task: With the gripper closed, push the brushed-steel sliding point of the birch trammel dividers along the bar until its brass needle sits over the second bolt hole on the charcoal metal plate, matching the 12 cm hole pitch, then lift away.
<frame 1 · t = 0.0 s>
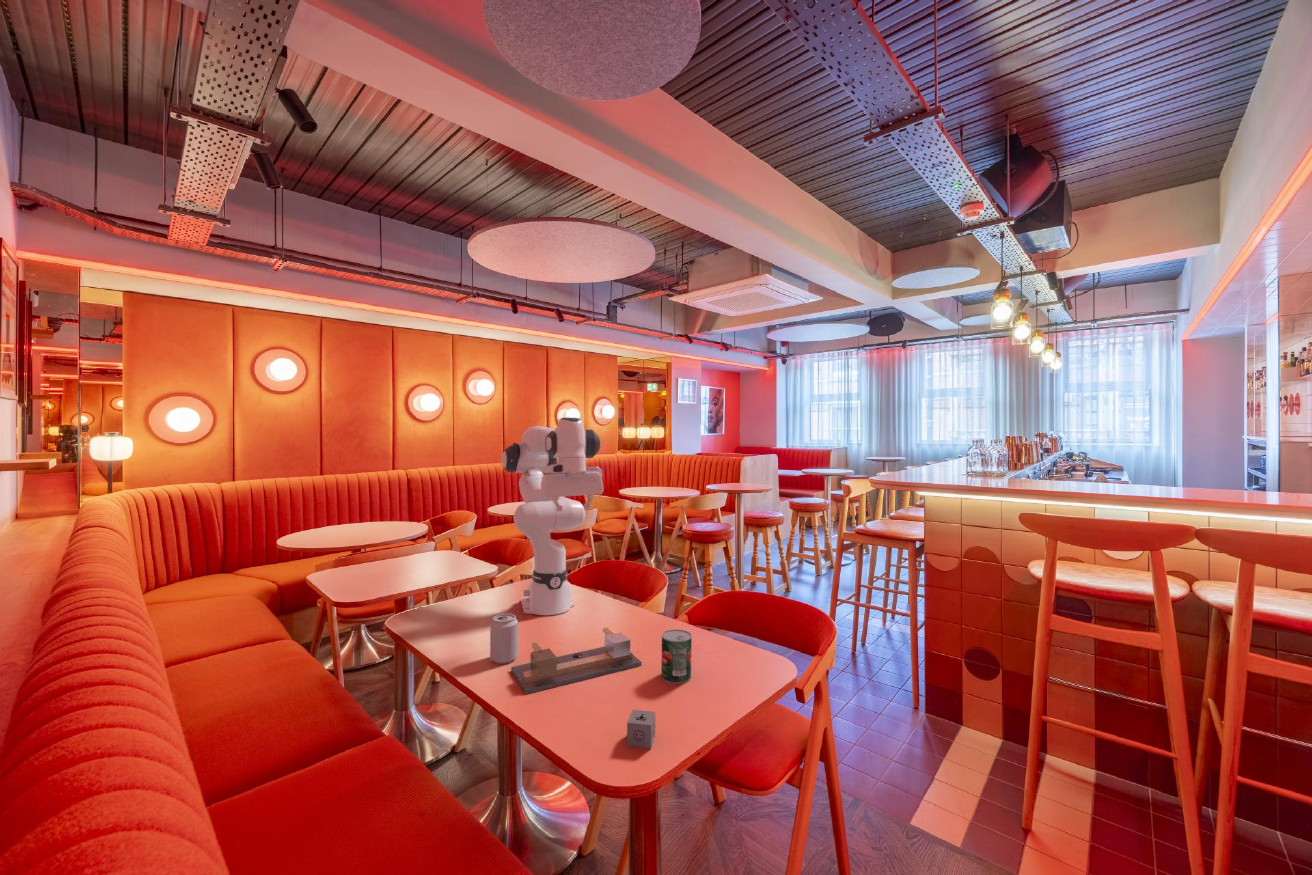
hand: (573, 510, 164), 39 cm above the table, tool pointing down, fingers open, 8 cm apart
canned tomato: (676, 677, 134), on the table
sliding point: (613, 643, 145), point 4 cm above the table, slide at 9.0 cm
can: (504, 659, 144), on the table
bolt plate: (577, 667, 138), on the table
dice cube: (641, 741, 106), on the table
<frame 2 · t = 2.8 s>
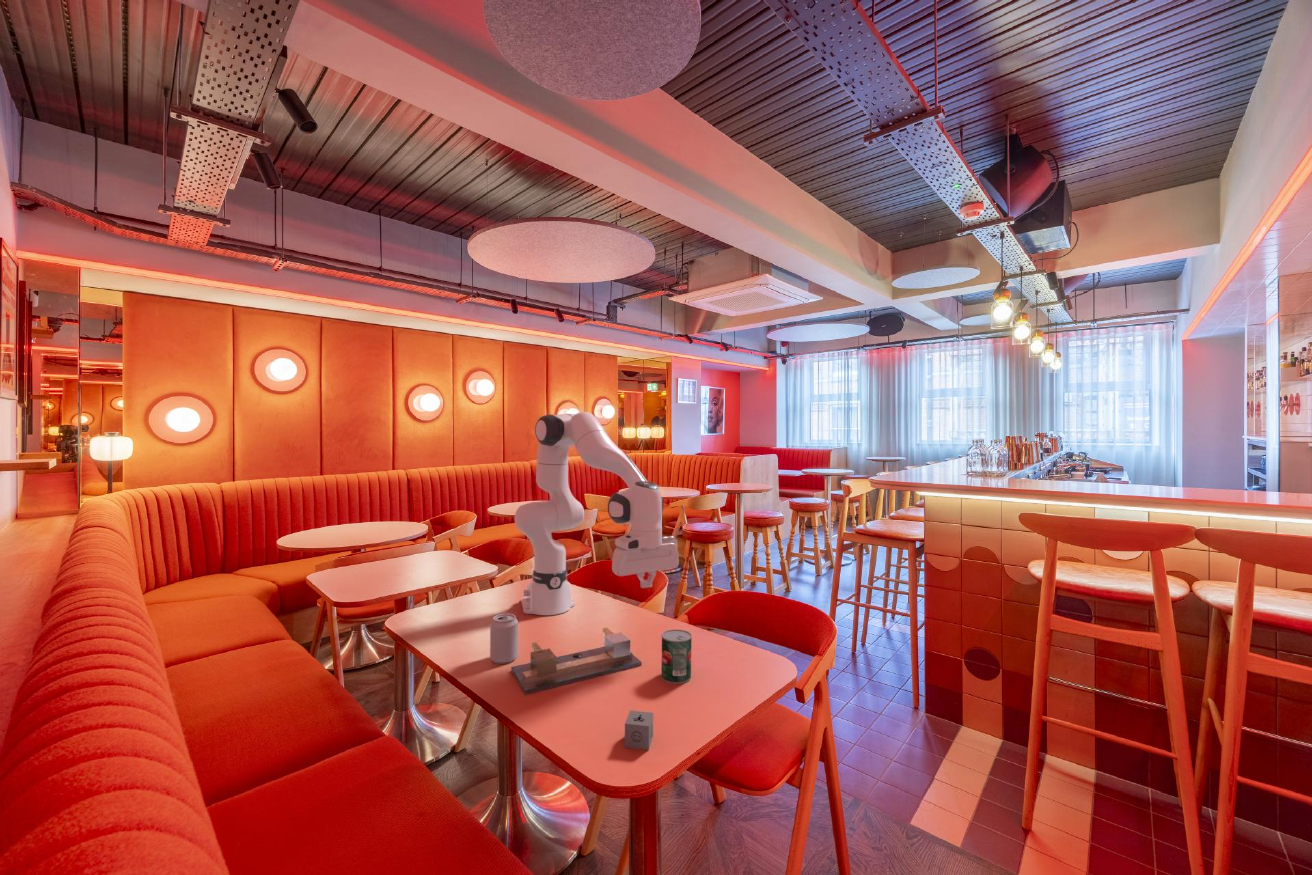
hand: (646, 586, 146), 20 cm above the table, tool pointing down, fingers closed
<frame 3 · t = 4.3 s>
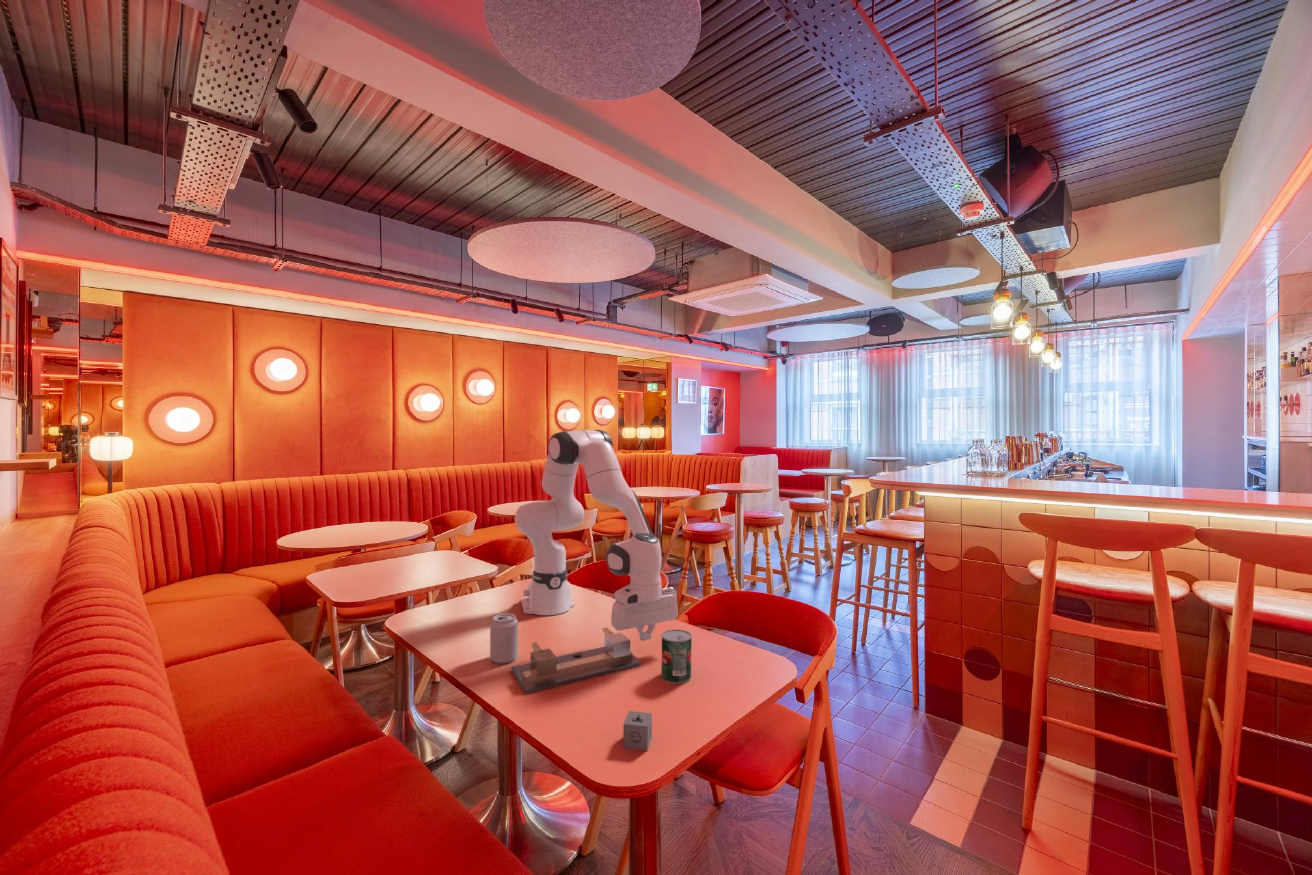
hand: (645, 639, 147), 5 cm above the table, tool pointing down, fingers closed
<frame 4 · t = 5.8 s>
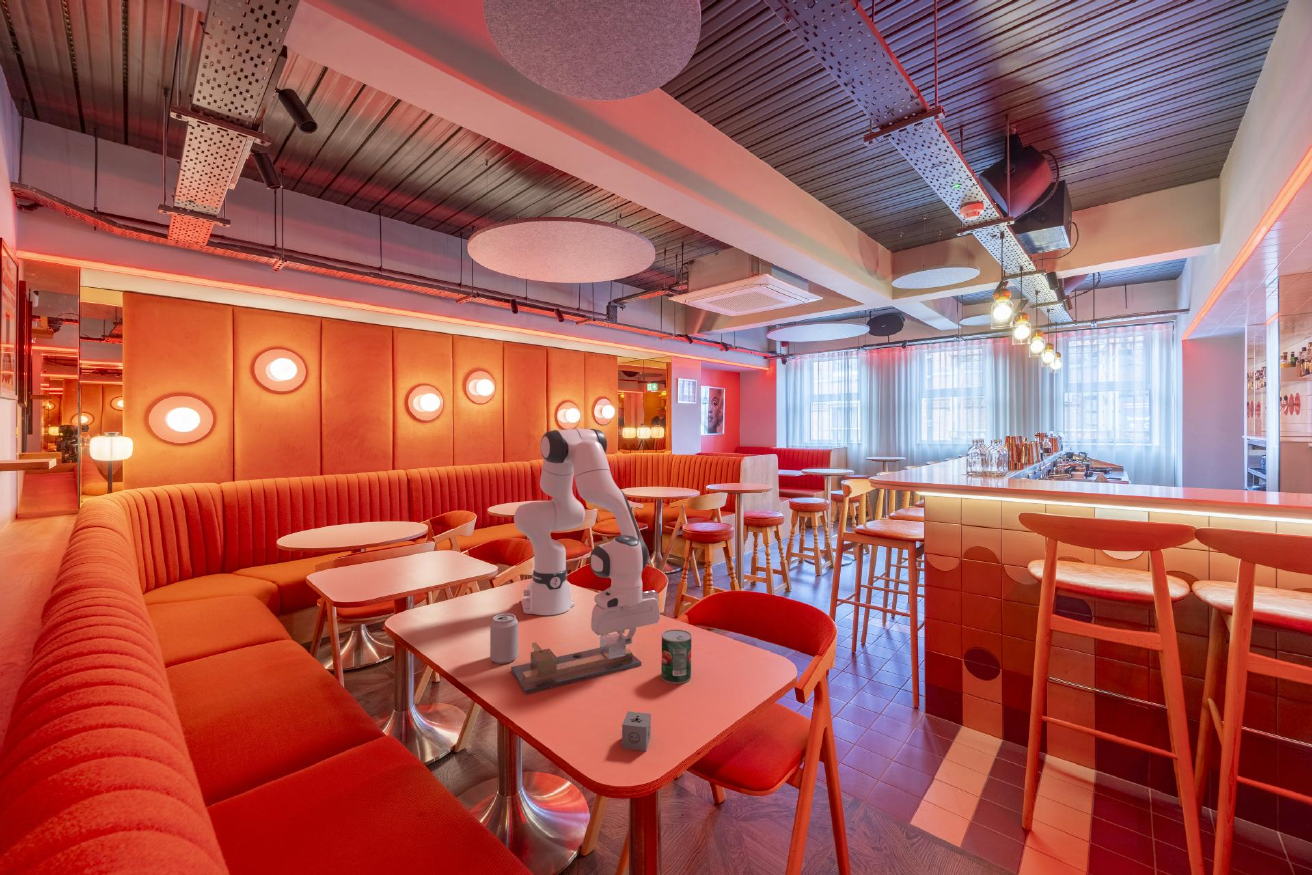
hand: (626, 643, 144), 5 cm above the table, tool pointing down, fingers closed
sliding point: (608, 644, 144), point 4 cm above the table, slide at 7.6 cm, touching gripper
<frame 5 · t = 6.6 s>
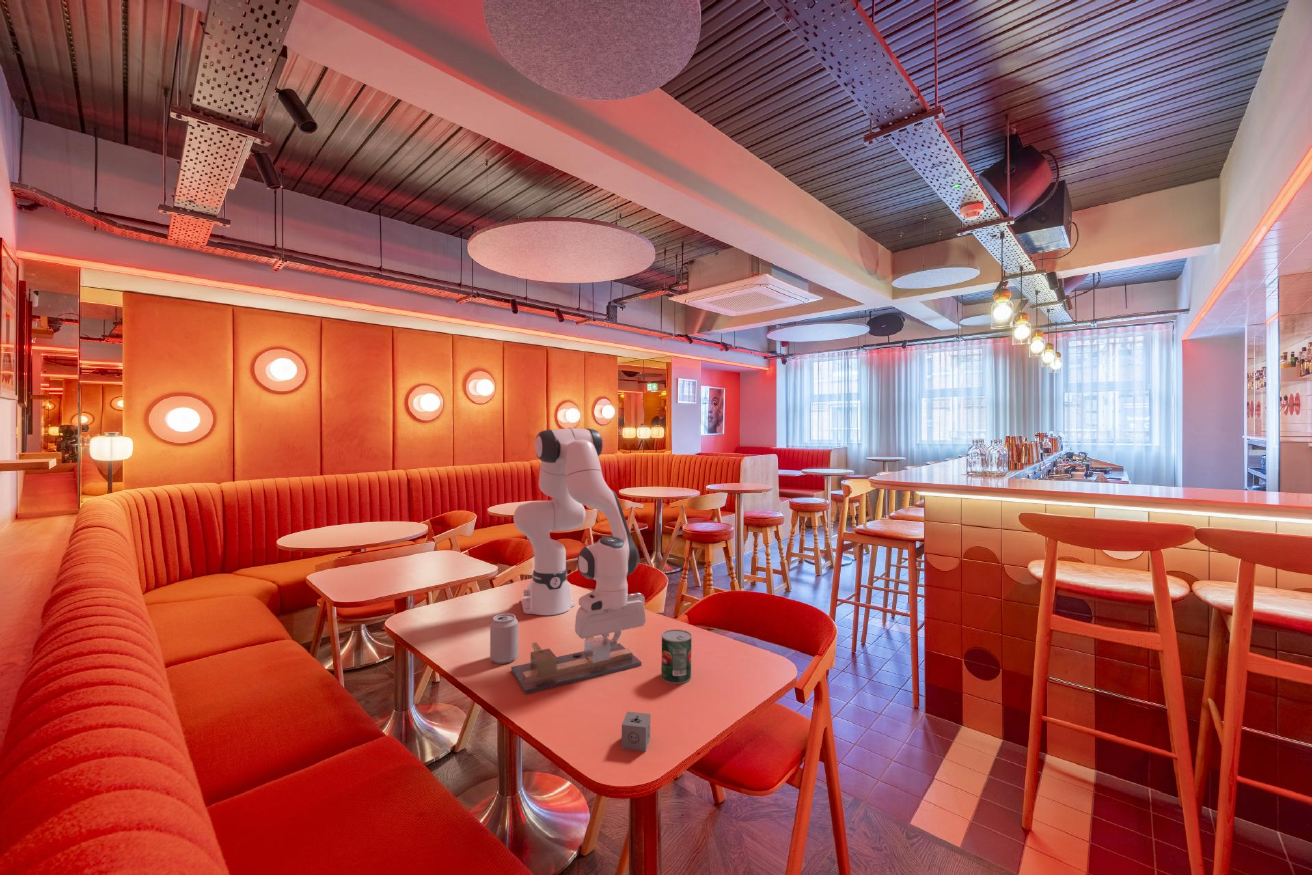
hand: (611, 647, 141), 5 cm above the table, tool pointing down, fingers closed
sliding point: (593, 648, 142), point 4 cm above the table, slide at 2.9 cm, touching gripper
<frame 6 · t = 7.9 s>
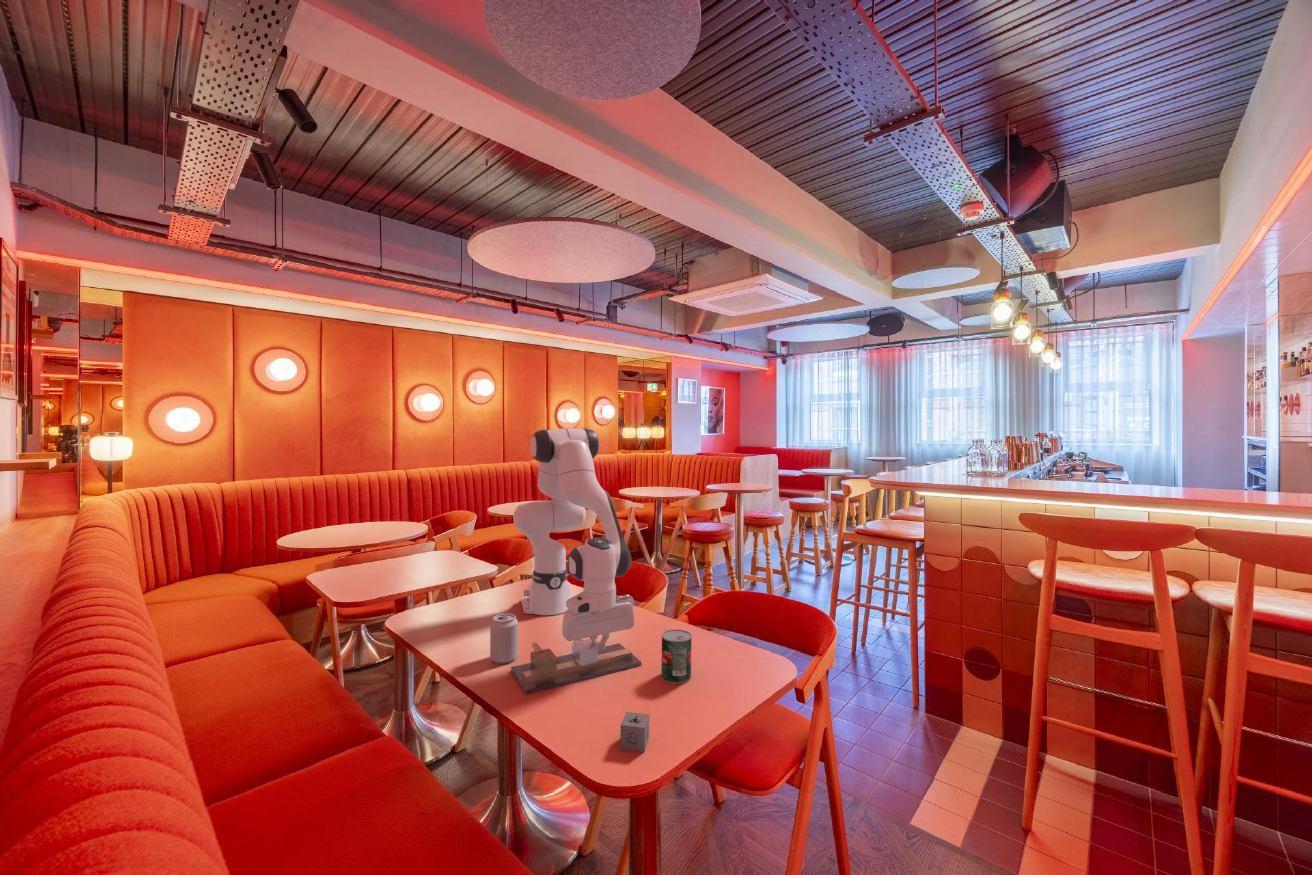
hand: (599, 649, 139), 5 cm above the table, tool pointing down, fingers closed
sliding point: (580, 650, 140), point 4 cm above the table, slide at -0.7 cm, touching gripper
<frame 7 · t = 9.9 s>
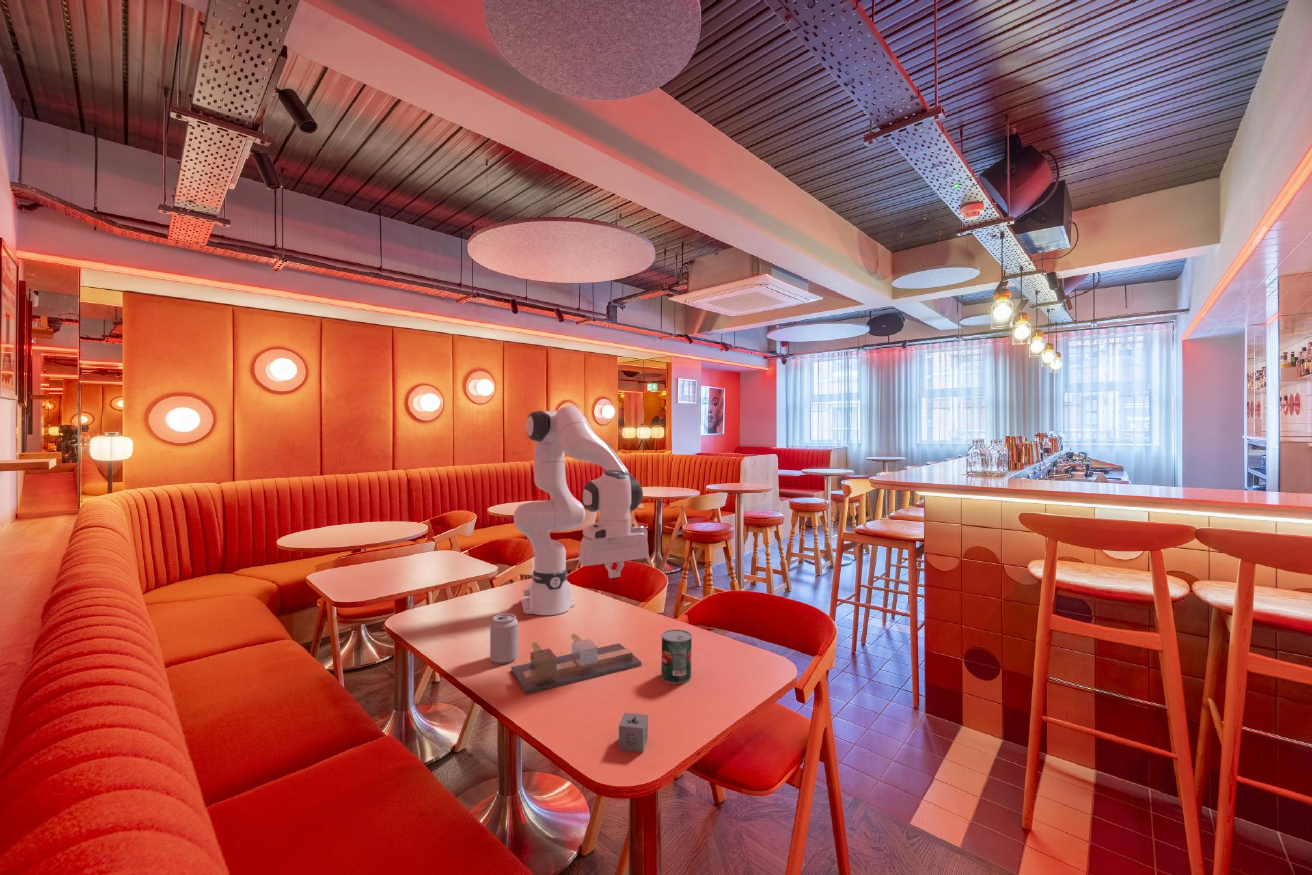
hand: (614, 577, 144), 23 cm above the table, tool pointing down, fingers closed
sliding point: (580, 650, 140), point 4 cm above the table, slide at -0.7 cm
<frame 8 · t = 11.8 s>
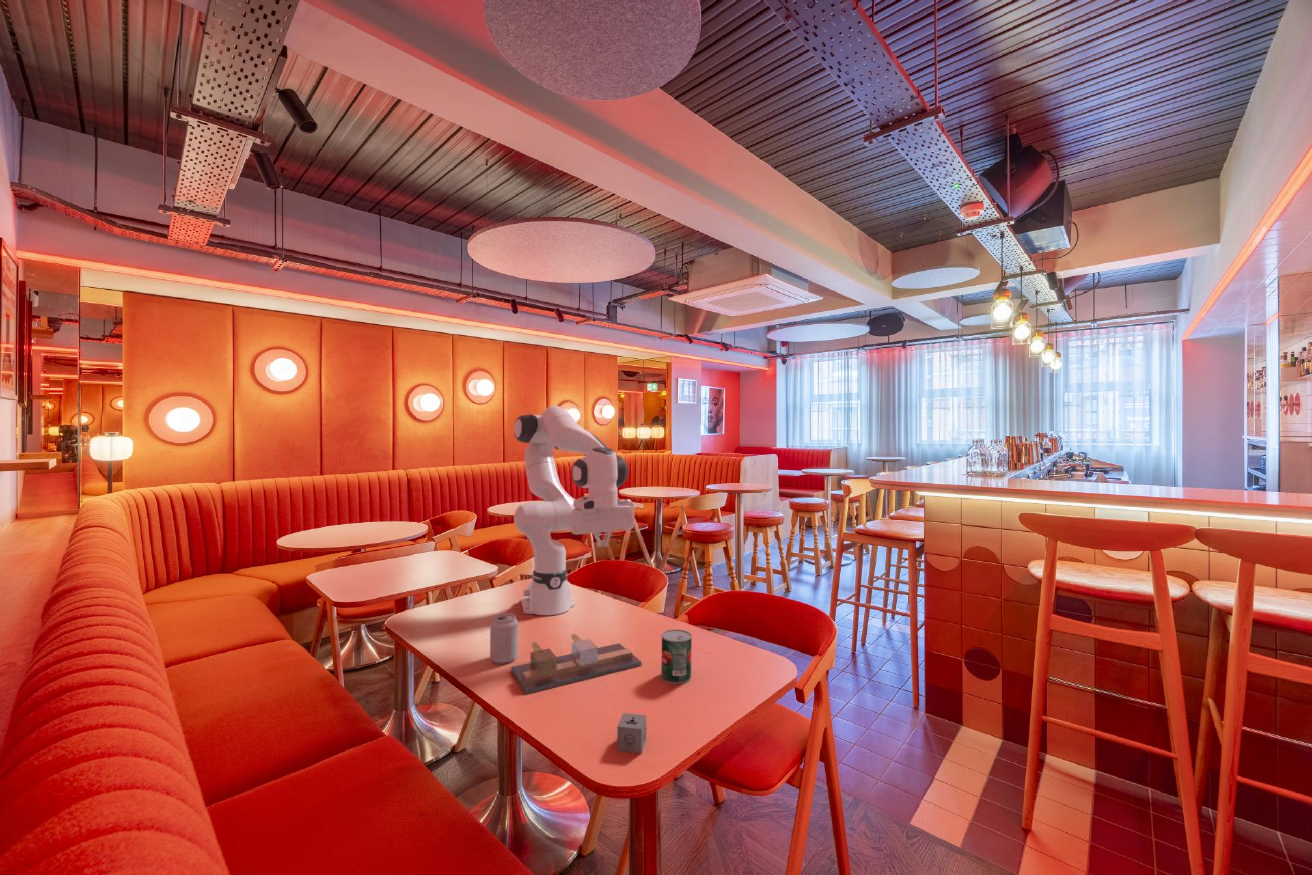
hand: (602, 546, 156), 29 cm above the table, tool pointing down, fingers closed
at the end: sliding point slide at -0.7 cm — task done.
